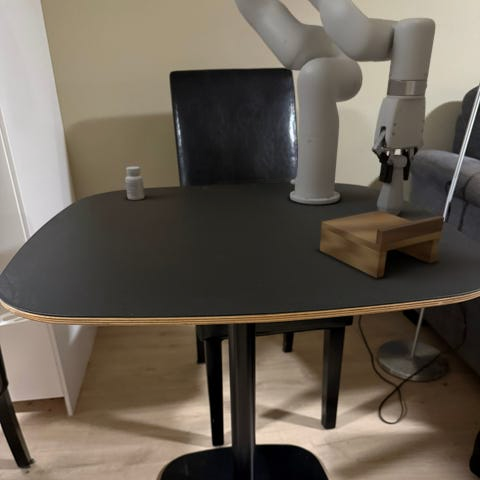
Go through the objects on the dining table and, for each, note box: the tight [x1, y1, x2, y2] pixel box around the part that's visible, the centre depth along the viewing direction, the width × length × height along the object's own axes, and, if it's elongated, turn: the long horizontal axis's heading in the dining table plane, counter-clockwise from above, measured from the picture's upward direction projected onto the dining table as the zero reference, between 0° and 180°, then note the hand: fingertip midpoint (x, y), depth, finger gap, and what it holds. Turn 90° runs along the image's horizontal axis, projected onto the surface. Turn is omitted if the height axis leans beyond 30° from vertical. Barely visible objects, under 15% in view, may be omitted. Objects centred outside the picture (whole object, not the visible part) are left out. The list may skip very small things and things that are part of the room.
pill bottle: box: [124, 165, 145, 201], centre depth 123 cm, size 4×4×8 cm
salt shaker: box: [376, 154, 407, 216], centre depth 107 cm, size 6×6×13 cm
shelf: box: [319, 209, 445, 279], centre depth 85 cm, size 15×14×8 cm
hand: (393, 180), depth 106 cm, fingers closed on salt shaker, 4 cm apart
